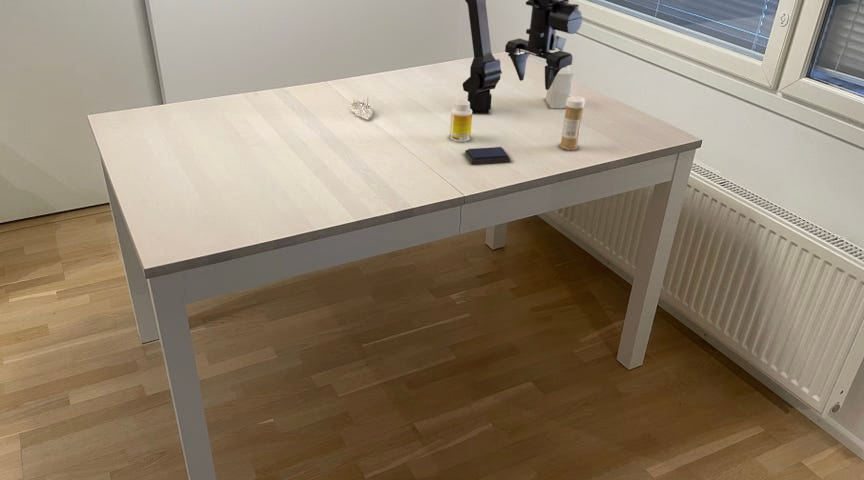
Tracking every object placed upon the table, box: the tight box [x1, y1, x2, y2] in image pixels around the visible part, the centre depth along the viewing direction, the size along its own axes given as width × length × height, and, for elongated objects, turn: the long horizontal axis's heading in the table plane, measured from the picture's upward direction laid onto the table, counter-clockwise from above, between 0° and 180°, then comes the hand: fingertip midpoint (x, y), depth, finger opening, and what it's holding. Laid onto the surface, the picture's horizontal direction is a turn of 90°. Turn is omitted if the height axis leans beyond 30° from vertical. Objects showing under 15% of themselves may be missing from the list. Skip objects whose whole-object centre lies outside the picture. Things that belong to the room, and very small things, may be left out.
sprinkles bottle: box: [559, 95, 586, 151], centre depth 188 cm, size 5×5×13 cm
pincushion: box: [348, 97, 374, 120], centre depth 209 cm, size 12×6×6 cm, turn 19°
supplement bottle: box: [449, 99, 473, 143], centre depth 193 cm, size 6×6×10 cm
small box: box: [545, 65, 574, 109], centre depth 216 cm, size 8×6×10 cm
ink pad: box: [464, 146, 511, 165], centre depth 185 cm, size 10×6×2 cm, turn 99°
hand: (534, 84), depth 194 cm, fingers open, 9 cm apart
